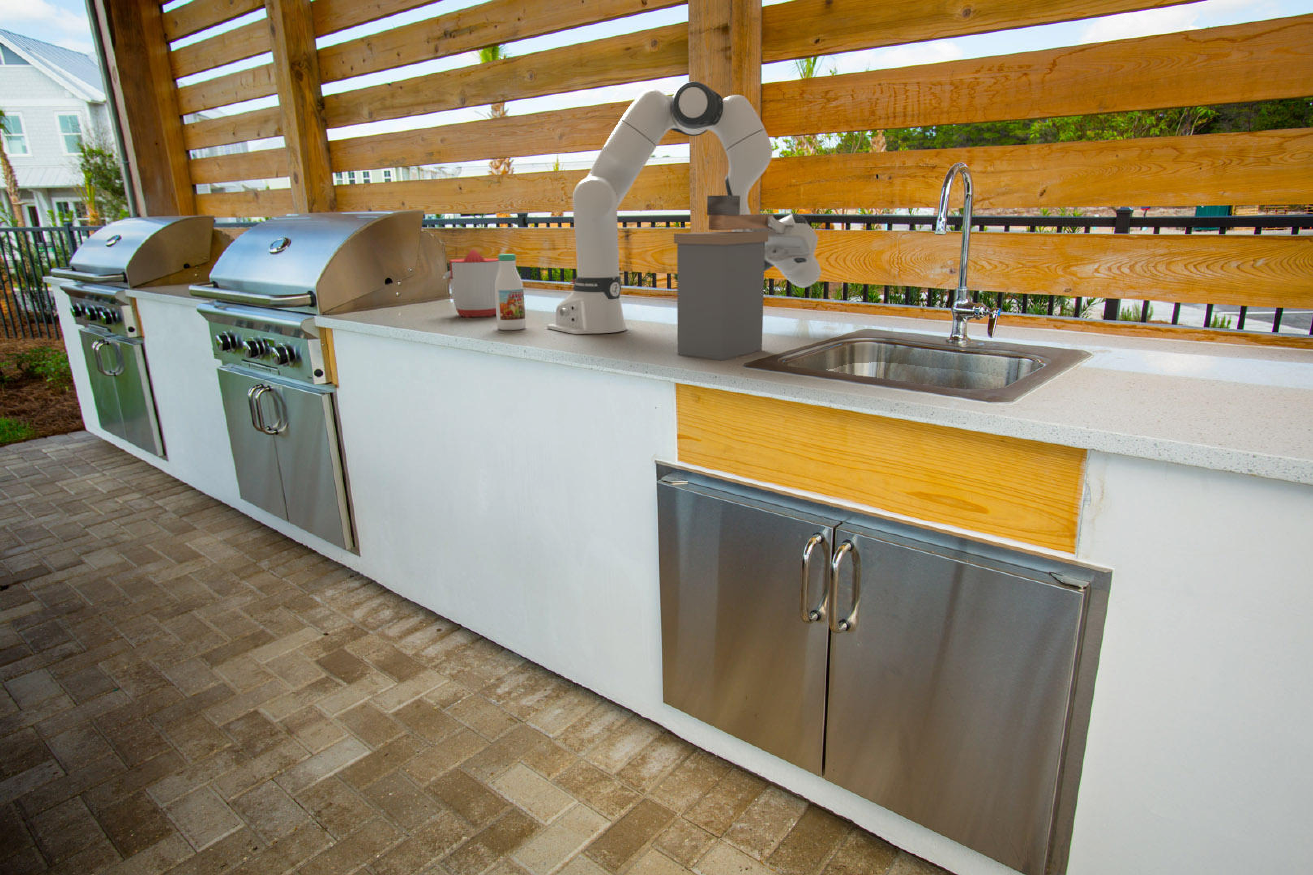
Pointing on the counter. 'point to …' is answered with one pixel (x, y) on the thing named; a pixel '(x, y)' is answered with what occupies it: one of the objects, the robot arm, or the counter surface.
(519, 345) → the counter surface
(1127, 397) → the counter surface
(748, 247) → the cabinet
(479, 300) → the citrus juicer
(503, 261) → the milk bottle
